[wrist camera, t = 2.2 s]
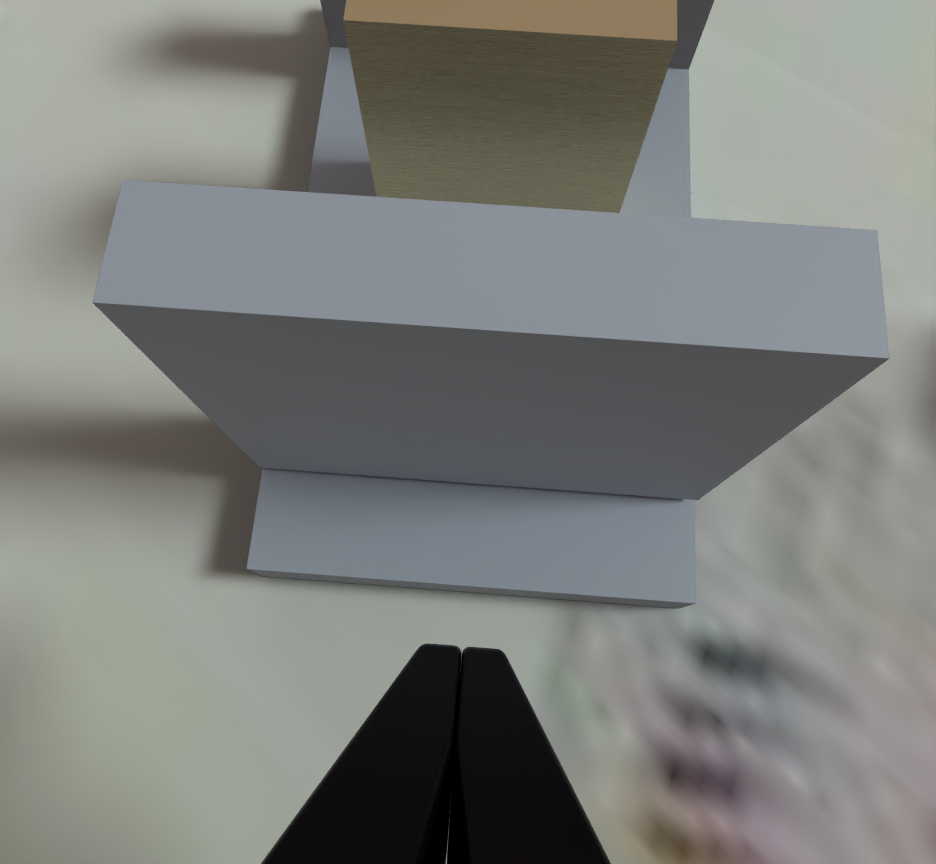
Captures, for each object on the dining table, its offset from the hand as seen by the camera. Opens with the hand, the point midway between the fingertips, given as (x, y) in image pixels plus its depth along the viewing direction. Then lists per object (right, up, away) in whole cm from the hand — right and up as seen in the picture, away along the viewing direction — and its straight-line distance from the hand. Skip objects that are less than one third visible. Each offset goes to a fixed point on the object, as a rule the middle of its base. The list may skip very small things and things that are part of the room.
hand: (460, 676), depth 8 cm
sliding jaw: (0, +2, +12) cm, 12 cm away
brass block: (+1, +9, +14) cm, 16 cm away
